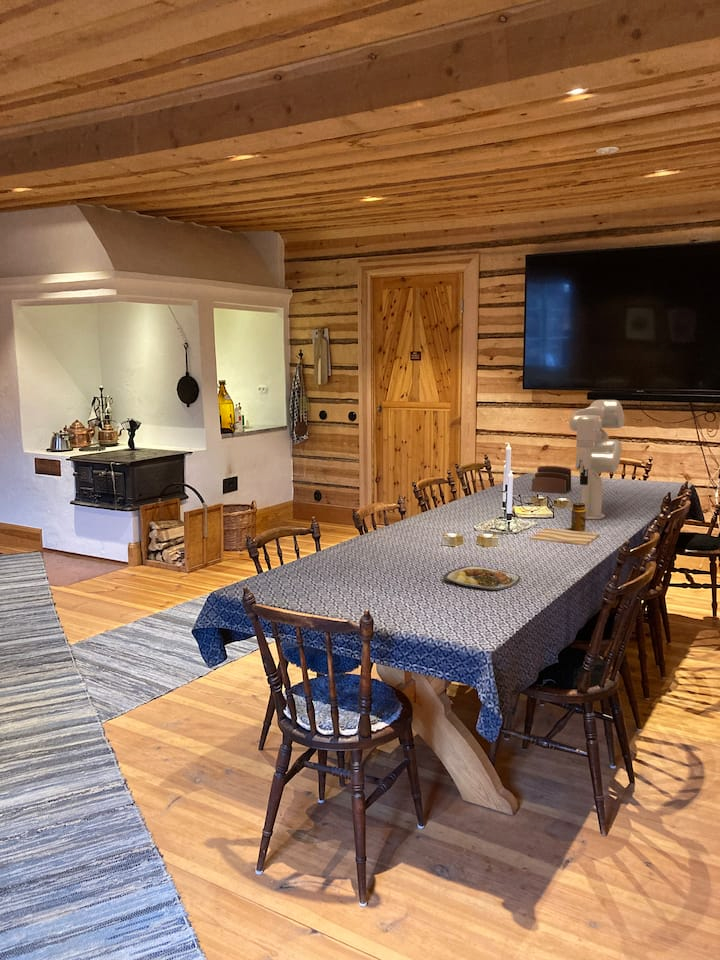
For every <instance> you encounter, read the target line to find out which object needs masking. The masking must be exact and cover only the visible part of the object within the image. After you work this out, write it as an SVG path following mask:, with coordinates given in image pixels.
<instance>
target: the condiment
mask: <svg viewBox="0 0 720 960" xmlns="http://www.w3.org/2000/svg"><path fill="white" fill-rule="evenodd" d="M586 520H587V519H586V510H585V504H584V503H581V502H575V503H572V509H571V527H564V530H568V531H578V532H588V529H586V522H587V521H586Z"/></svg>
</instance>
